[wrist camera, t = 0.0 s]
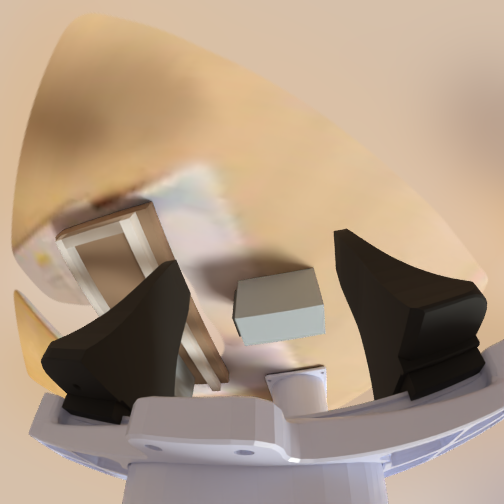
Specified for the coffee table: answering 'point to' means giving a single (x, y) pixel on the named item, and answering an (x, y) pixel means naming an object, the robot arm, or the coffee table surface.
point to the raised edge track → (137, 282)
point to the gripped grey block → (278, 307)
